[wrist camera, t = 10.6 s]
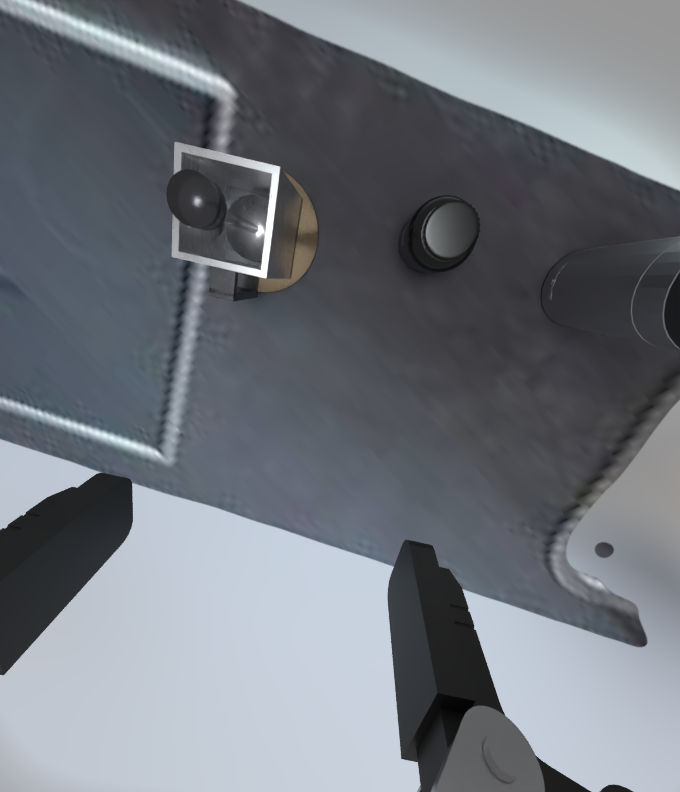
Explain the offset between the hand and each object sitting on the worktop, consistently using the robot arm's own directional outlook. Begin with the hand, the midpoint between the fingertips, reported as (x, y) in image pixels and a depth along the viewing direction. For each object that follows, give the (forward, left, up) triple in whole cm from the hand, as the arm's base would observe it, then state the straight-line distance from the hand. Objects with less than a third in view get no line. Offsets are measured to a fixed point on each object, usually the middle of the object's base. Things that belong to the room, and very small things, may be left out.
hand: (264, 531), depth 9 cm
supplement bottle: (-8, -13, -36) cm, 39 cm away
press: (+12, -10, -36) cm, 39 cm away
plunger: (+12, -10, -34) cm, 37 cm away
